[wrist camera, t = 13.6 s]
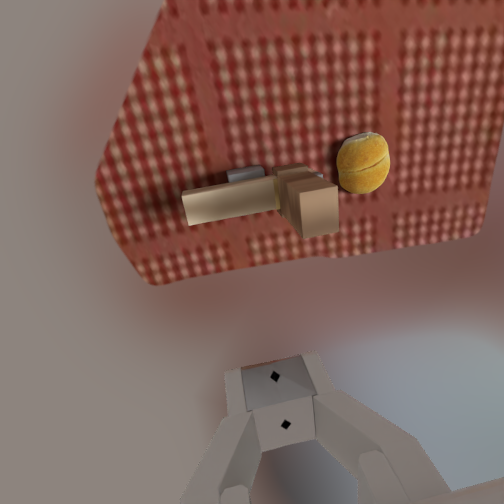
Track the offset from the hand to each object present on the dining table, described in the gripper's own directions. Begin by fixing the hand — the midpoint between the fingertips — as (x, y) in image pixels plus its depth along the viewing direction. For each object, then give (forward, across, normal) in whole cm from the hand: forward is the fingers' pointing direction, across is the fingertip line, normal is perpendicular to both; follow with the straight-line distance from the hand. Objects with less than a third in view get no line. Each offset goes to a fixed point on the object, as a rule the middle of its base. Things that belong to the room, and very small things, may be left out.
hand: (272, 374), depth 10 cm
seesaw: (+39, -4, +3) cm, 39 cm away
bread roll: (+40, -22, +2) cm, 46 cm away
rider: (+34, -10, +3) cm, 36 cm away
